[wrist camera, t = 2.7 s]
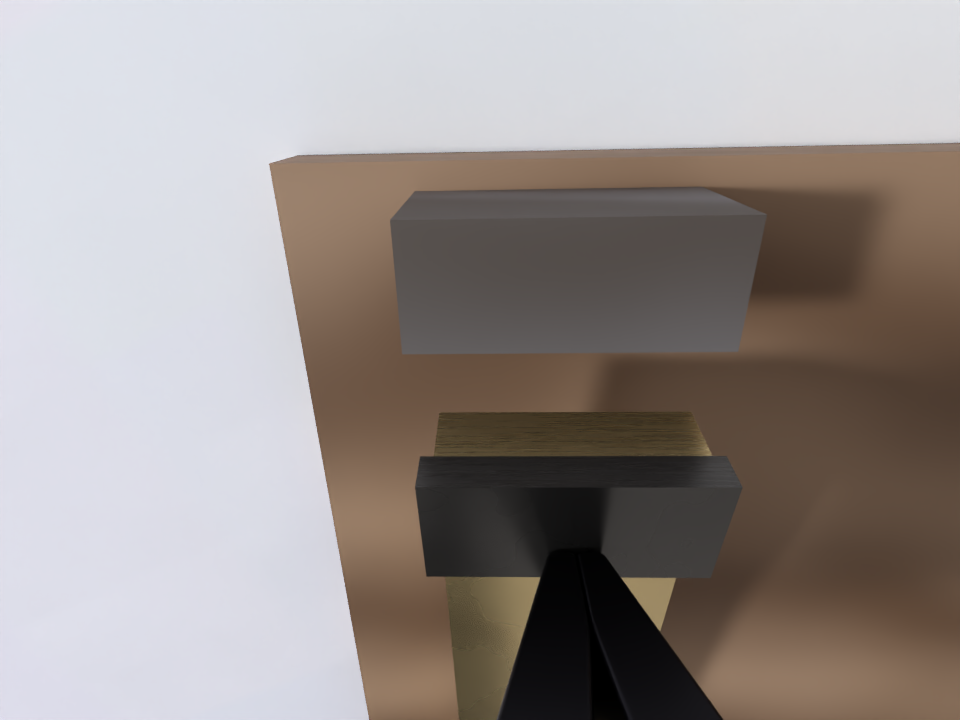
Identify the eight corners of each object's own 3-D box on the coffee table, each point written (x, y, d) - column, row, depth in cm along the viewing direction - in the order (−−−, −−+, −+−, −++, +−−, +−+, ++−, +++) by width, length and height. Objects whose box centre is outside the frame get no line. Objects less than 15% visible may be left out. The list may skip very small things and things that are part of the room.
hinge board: (994, 786, 20) (1106, 939, 16) (395, 776, 20) (373, 921, 17) (1464, 133, 10) (2006, 153, 6) (297, 155, 11) (198, 184, 7)
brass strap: (603, 796, 17) (613, 861, 16) (461, 793, 18) (459, 858, 16) (710, 411, 9) (750, 487, 7) (420, 412, 9) (407, 487, 7)
